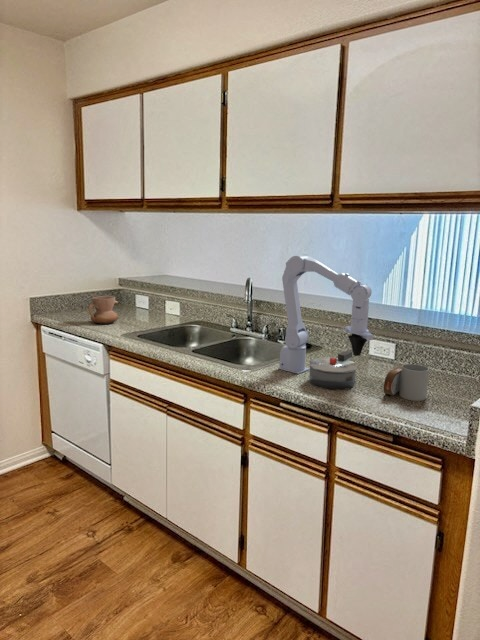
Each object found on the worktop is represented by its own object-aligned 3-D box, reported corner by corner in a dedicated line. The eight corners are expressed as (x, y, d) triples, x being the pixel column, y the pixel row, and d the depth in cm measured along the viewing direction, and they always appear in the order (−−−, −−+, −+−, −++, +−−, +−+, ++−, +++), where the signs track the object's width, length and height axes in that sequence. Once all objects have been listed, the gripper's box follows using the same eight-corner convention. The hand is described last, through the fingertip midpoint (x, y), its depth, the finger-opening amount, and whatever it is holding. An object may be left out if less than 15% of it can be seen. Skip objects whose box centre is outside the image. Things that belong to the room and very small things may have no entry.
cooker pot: (300, 382, 173) (301, 366, 172) (329, 370, 189) (330, 355, 188) (341, 393, 163) (342, 376, 162) (368, 379, 179) (369, 363, 178)
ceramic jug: (110, 318, 278) (109, 294, 275) (125, 322, 268) (124, 296, 266) (82, 323, 265) (80, 297, 262) (97, 327, 255) (95, 300, 252)
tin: (399, 386, 173) (401, 363, 171) (407, 388, 171) (410, 364, 169) (381, 396, 161) (383, 372, 160) (390, 399, 159) (393, 374, 158)
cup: (429, 396, 163) (432, 367, 161) (420, 402, 157) (423, 372, 155) (405, 390, 168) (408, 362, 166) (395, 396, 162) (397, 367, 160)
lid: (343, 376, 162) (344, 367, 161) (301, 366, 172) (301, 358, 171) (369, 363, 178) (370, 355, 178) (329, 354, 188) (330, 347, 188)
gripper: (381, 321, 168) (378, 359, 170) (357, 314, 181) (354, 349, 184) (364, 322, 165) (361, 361, 168) (341, 314, 178) (338, 350, 181)
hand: (356, 355), depth 176 cm, fingers closed
